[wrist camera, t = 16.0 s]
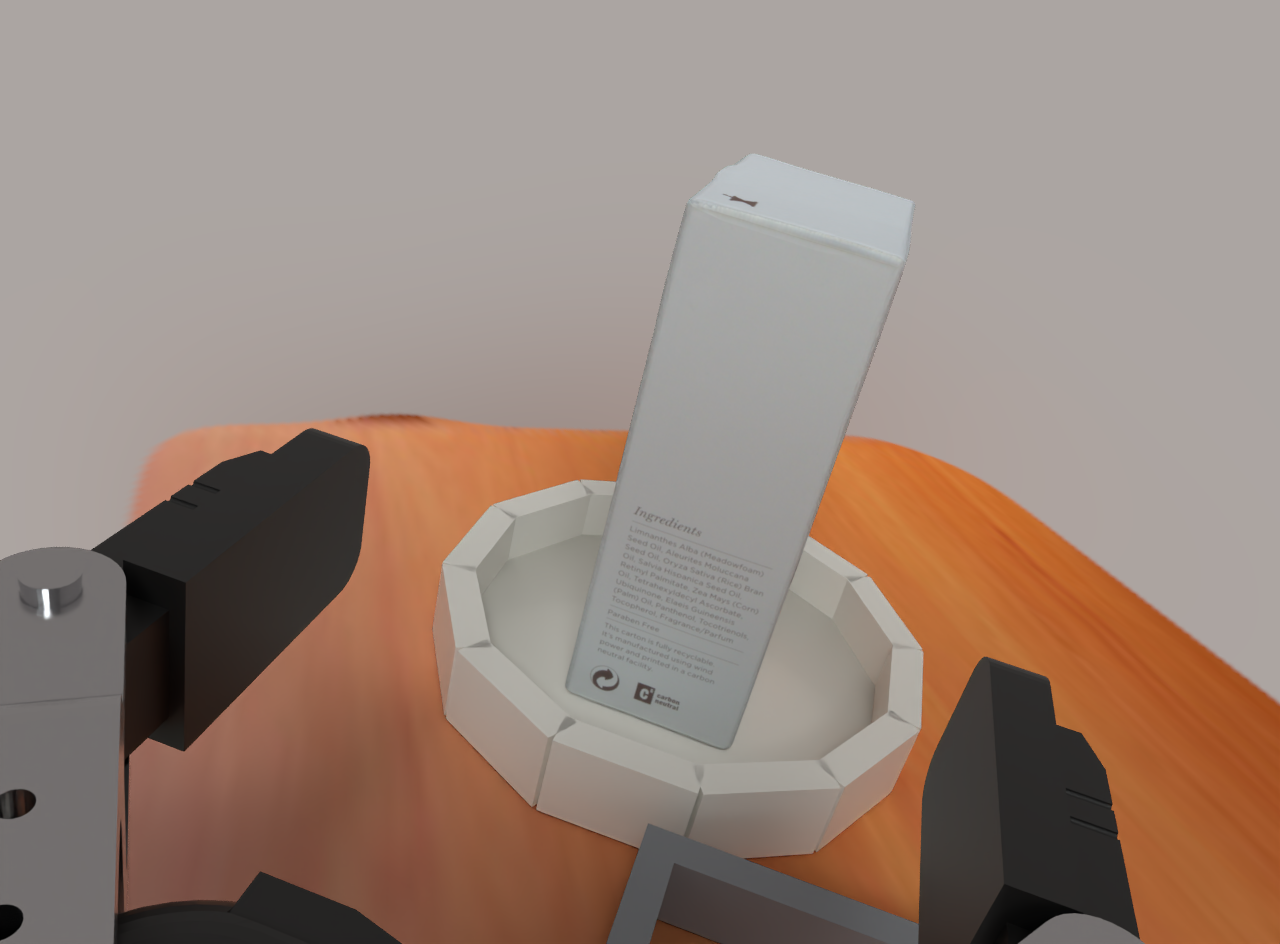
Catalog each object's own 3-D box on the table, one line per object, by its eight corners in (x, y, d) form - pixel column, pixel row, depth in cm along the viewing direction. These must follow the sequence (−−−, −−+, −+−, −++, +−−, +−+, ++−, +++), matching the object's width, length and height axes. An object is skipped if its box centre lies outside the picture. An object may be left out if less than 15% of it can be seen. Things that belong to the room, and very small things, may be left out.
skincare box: (732, 760, 24) (911, 261, 18) (559, 695, 24) (678, 193, 19) (774, 617, 29) (922, 197, 23) (631, 567, 30) (741, 146, 24)
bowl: (903, 619, 31) (926, 565, 31) (882, 940, 21) (916, 873, 20) (534, 496, 33) (545, 441, 32) (345, 738, 23) (353, 667, 22)
